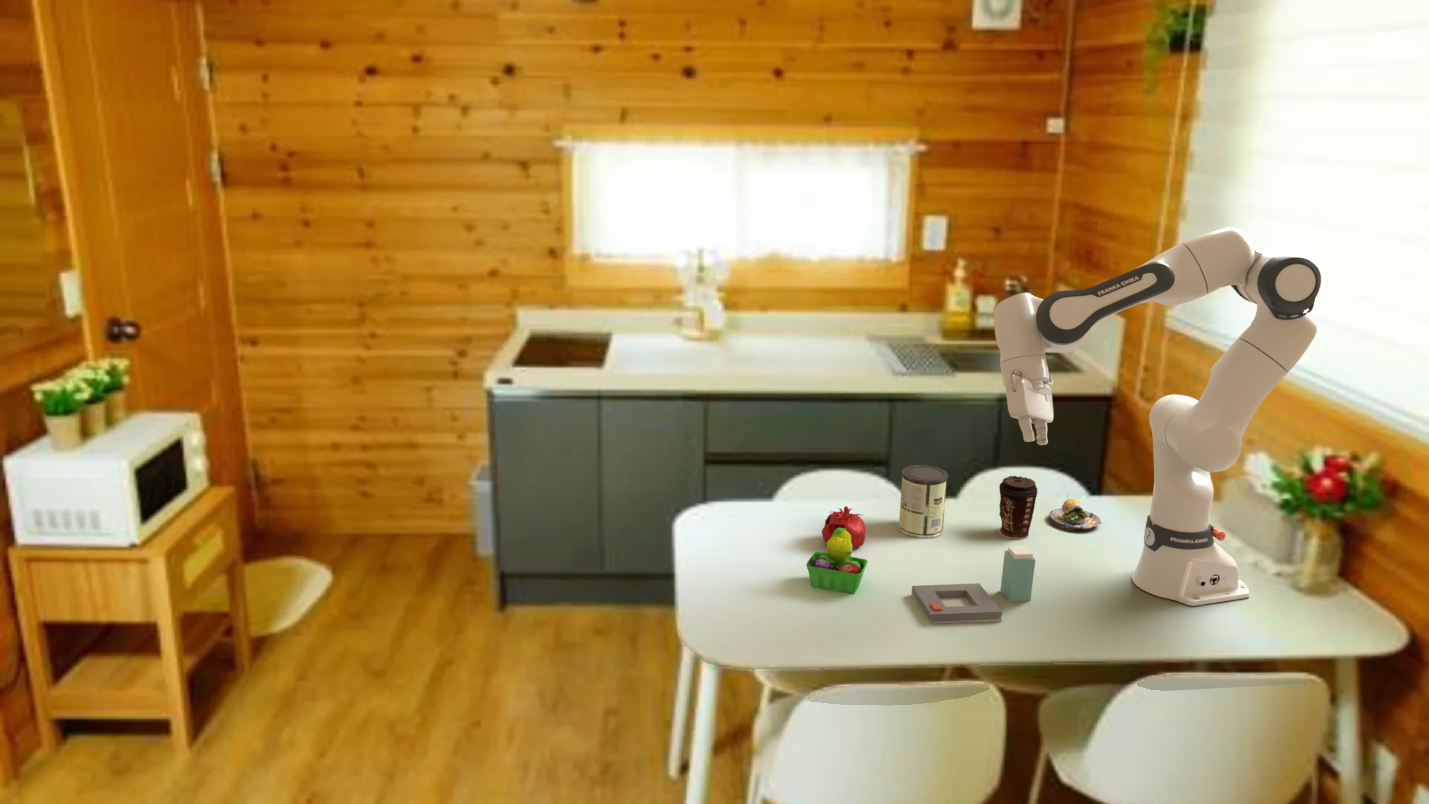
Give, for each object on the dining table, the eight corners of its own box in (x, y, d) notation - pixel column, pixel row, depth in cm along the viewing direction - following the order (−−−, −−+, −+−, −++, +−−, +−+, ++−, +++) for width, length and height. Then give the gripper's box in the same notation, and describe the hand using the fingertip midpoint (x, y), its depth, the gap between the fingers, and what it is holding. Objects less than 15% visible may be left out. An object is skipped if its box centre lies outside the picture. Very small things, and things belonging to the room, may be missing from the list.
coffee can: (907, 517, 249) (912, 461, 245) (949, 527, 243) (954, 470, 239) (890, 531, 240) (895, 474, 236) (933, 542, 235) (938, 483, 231)
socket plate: (978, 592, 212) (979, 581, 211) (1000, 621, 200) (1002, 609, 199) (911, 594, 210) (912, 583, 209) (930, 623, 198) (931, 612, 198)
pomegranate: (853, 533, 239) (855, 495, 236) (873, 551, 230) (876, 512, 227) (813, 538, 236) (815, 500, 233) (832, 556, 227) (834, 516, 224)
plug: (1021, 590, 213) (1026, 545, 210) (1030, 600, 209) (1035, 554, 206) (1000, 591, 212) (1005, 545, 209) (1008, 601, 208) (1014, 555, 205)
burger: (1076, 538, 240) (1080, 507, 237) (1037, 520, 249) (1040, 490, 247) (1111, 528, 245) (1115, 499, 243) (1072, 511, 255) (1076, 482, 253)
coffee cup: (1004, 523, 246) (1010, 471, 243) (1038, 532, 241) (1045, 480, 237) (988, 534, 240) (994, 481, 236) (1023, 544, 235) (1029, 490, 231)
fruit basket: (803, 588, 212) (806, 537, 208) (815, 570, 220) (817, 521, 216) (858, 598, 208) (862, 546, 205) (868, 580, 216) (871, 529, 213)
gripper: (1026, 364, 197) (1038, 436, 195) (1053, 377, 215) (1065, 443, 212) (993, 371, 201) (1005, 442, 198) (1023, 383, 218) (1034, 448, 215)
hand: (1036, 443), depth 205 cm, fingers open, 8 cm apart
